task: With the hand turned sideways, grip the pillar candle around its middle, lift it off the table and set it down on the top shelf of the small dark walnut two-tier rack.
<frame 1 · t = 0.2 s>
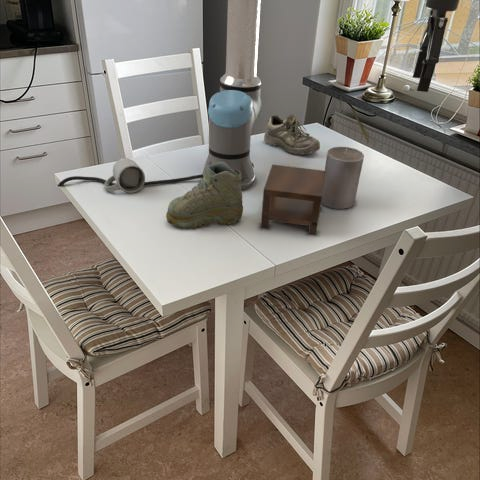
hand: (419, 84, 135), 28 cm above the table, tool pointing down, fingers open, 13 cm apart
pillar candle: (336, 202, 141), on the table
hiking shoe: (290, 148, 170), on the table
ceramic mug: (125, 188, 142), on the table
shelf rack: (291, 217, 133), on the table
sneaker: (204, 221, 130), on the table
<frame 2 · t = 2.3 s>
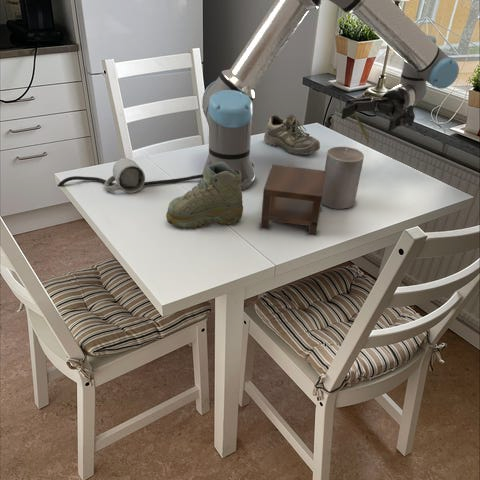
hand: (366, 119, 135), 20 cm above the table, tool horizontal, fingers open, 13 cm apart
nothing on the table moved.
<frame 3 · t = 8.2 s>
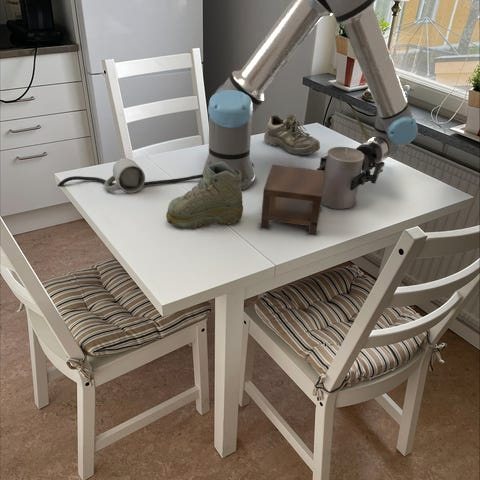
hand: (334, 179, 133), 8 cm above the table, tool horizontal, fingers closed on pillar candle, 10 cm apart
pillar candle: (337, 202, 141), on the table, touching gripper
everything else where it was.
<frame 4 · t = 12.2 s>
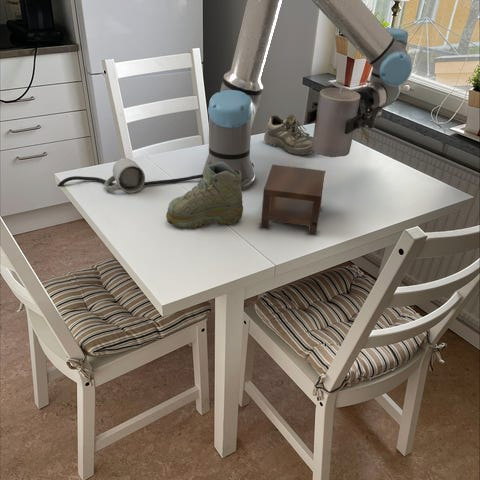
hand: (327, 122, 120), 24 cm above the table, tool horizontal, fingers closed on pillar candle, 10 cm apart
pillar candle: (330, 151, 128), point 16 cm above the table, touching gripper
everything else where it was.
when the fingers open (18 cm above the table, at t = 16.5 s): pillar candle stays where it is, resting on shelf rack.
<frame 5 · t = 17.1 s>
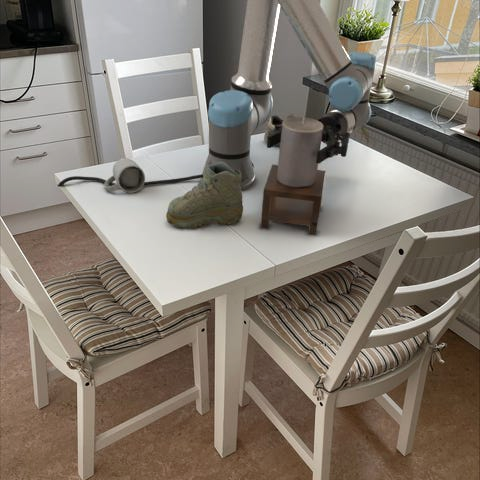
hand: (292, 149, 119), 19 cm above the table, tool horizontal, fingers open, 13 cm apart
pillar candle: (296, 180, 126), point 10 cm above the table, touching shelf rack
everything else where it was.
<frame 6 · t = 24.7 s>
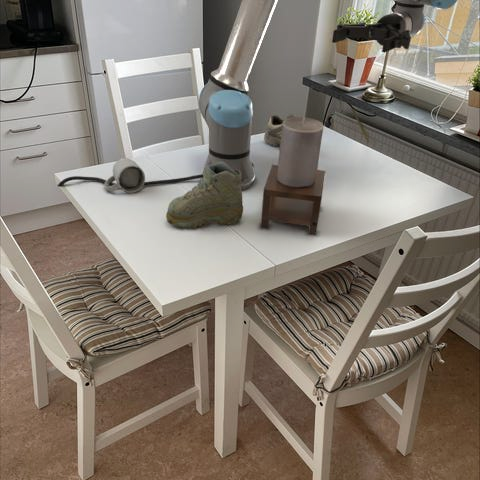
hand: (358, 41, 124), 38 cm above the table, tool horizontal, fingers open, 13 cm apart
nothing on the table moved.
at the end: pillar candle inside the target area on the shelf rack (0.1 cm from its centre), point 10.4 cm above the shelf rack's base; pillar candle tilted 0°; the gripper is holding nothing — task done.
